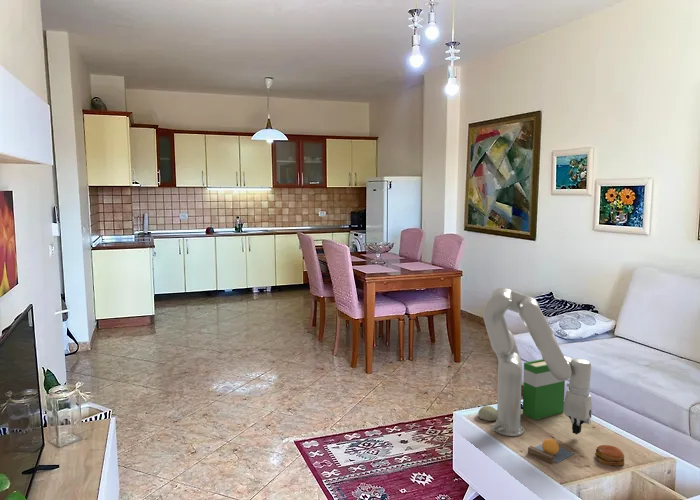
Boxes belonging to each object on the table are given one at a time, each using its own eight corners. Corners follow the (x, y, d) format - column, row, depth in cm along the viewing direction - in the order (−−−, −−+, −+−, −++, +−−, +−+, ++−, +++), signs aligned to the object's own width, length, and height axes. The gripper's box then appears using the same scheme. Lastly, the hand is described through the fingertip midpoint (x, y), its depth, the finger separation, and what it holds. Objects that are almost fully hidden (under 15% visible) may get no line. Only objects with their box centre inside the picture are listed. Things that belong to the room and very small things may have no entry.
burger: (629, 464, 190) (630, 452, 189) (610, 469, 186) (611, 457, 186) (608, 452, 199) (608, 440, 198) (589, 456, 196) (589, 444, 195)
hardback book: (551, 406, 242) (552, 357, 239) (563, 412, 235) (565, 361, 233) (522, 413, 234) (524, 362, 232) (534, 419, 228) (536, 367, 225)
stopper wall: (551, 464, 190) (551, 457, 190) (527, 453, 198) (528, 447, 198) (554, 462, 191) (554, 456, 191) (530, 451, 199) (531, 445, 199)
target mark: (556, 463, 190) (556, 463, 190) (528, 450, 200) (528, 450, 200) (574, 453, 197) (574, 453, 197) (546, 442, 207) (546, 441, 207)
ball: (560, 456, 197) (552, 459, 193) (546, 449, 201) (538, 452, 197) (563, 441, 196) (555, 444, 192) (548, 434, 201) (540, 437, 197)
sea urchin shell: (496, 409, 235) (499, 402, 229) (498, 426, 230) (501, 419, 224) (476, 408, 236) (478, 401, 230) (478, 425, 231) (480, 418, 225)
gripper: (557, 386, 212) (554, 428, 214) (592, 397, 200) (589, 442, 202) (567, 382, 216) (564, 423, 218) (602, 393, 204) (598, 437, 206)
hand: (576, 432), depth 210 cm, fingers closed
